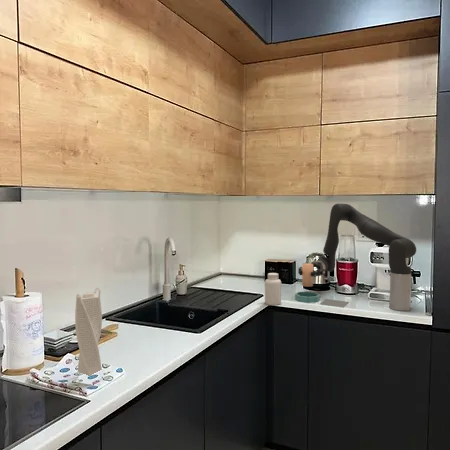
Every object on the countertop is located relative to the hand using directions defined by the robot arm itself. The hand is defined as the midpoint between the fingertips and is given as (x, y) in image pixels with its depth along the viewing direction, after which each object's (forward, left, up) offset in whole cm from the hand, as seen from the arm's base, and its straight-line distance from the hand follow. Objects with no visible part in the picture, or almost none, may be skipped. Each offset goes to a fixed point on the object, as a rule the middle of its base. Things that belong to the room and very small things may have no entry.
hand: (306, 273), depth 219 cm
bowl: (0, -2, -14) cm, 14 cm away
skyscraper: (+24, +120, -15) cm, 123 cm away
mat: (-14, -2, -14) cm, 20 cm away
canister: (0, -3, -6) cm, 7 cm away
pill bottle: (+13, +12, -14) cm, 23 cm away
